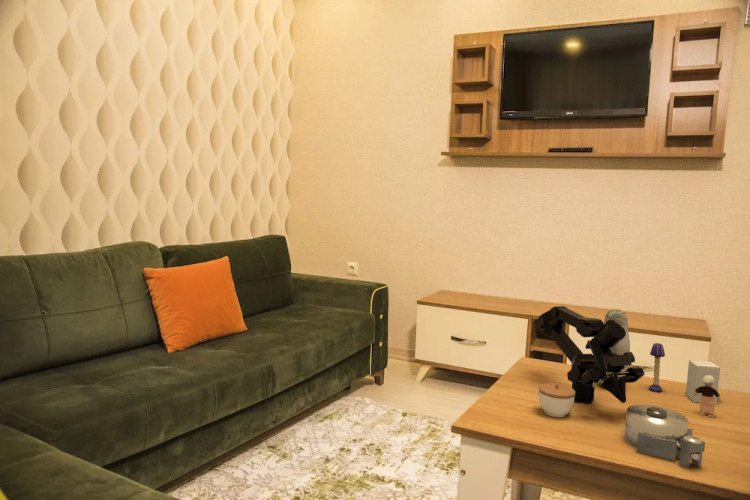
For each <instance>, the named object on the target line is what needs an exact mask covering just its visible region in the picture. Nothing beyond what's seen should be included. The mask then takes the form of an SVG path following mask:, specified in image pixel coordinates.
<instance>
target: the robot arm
mask: <svg viewBox="0 0 750 500" xmlns="http://www.w3.org/2000/svg"><path fill="white" fill-rule="evenodd" d="M565 323H566V324H568V325H569V326H571V327H573V328H574V329H575V330H576V333H578V334H579V336H581V337H583V338H591V339H590V340H589V339H588V340H587V341H586V344H585V346H584V347H585V349H586V350H590V352H591V353H584V352H583V351H582V350H581V349H580V348H579V347H578V346H577V344H576V343H575V342H574V341H573V340H572V338H571V337H570V336H569V335H568V334H567V333H566V331H565V330H564V324H565ZM535 325H536V327H537V329H538V331H539V332H541V334H543V335H545V336H548V337H549V338H551V339H552V340H553V341H554V343H555V344H556V345H557V346H558V348H559V349H560V350H561V351H562V353H563V354H564V355H565V357H567V359H568V360H569V362H570V363H571V365H570V370H568V372H567V373H566V375H567V380H568V381H570V382H571V384H572V385H571V388H572V389H574V390H575V397H574V402H578V403H584V404H589V405H591V404H592V402H593V401H594V399H595V389H596V387H595V386H594V384H599V383H600V381H599V379H601V381H602V384H601V383H600V385H599V386H600V387H602V388H604V389H605V390H606V391H608V392H609V393H610V394H611V395H612V396H614V397H615V398H616V399H617V400H619V402H620V403H622V404H625V403H627V393H626V392H627V391H626V387H627V386H626V384H631V383H632V384H633V383H636V382H637V381H638V380H640V379H641V378H642V377H644V376H645V375H646V373H645V372H644V369H643V368H642V367H640V366H633V365H632V364H633V363H635V362H636V358H635V355H634V353H633V352H632V351H630V352H626V353H624V355H617V354H616V353H613V352H612V350H611V348H612V347H614V346H616V345H617V344H618V343H619V342H620V341H621V340H622V339H623V338H624V337H625V335H626V332H625V329H624V328H623V327H622V326H621V325H619V324H617V323H615V321H614V320H608V321H607V322H606V324H604V321H603V320H602V319H600V318H595V317H587V316H584V315H582V314H580V313H578V312H576V311H574V310H571V309H569V308H568V307H567V306H565V305H560V306H557V305H556V306H552V307H551V308H550V309H549V310H547V311H545V312H543V313H541V314H540V315H539V316H538V318H537V319H536V321H535ZM626 365H628V369H627V370H626V371H625V372H621V370H623V369H624V368H625V367H624V366H626Z"/></svg>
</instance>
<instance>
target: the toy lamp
mask: <svg viewBox="0 0 750 500" xmlns="http://www.w3.org/2000/svg"><path fill="white" fill-rule="evenodd" d="M649 354H650V356H653V357H654V361H653V362H654V365H653V367H654V368H653V382H652V383H653V384H651V385H650V386H649V388H648V390H649V391H651V392H655V393H662V392H663V388H662V386H661V385H660V383H659V382H660V368H661V365H660V364H661V361H660V360H661V358H664V357H665V356H666V354H665V349H664V345H663V344H662V343H657V342H656V343H655V342H654V343H653V344H652V346H651V350H650V353H649Z"/></svg>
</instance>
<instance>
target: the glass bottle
mask: <svg viewBox="0 0 750 500" xmlns="http://www.w3.org/2000/svg"><path fill="white" fill-rule="evenodd" d="M608 320H614V321H615V323H617V324H619V325H621V326H622V327H623V328H624V329H625V332H626V335H625V337H624V338H623V339H622V340H621V341H620V342H619V343H618V344H617V345H616V346H614V347H612V348H611V350H612V352H613V353H616V354H617V355H624V353H626V352H631V341H630V334H629V318H628V315H627V313H626V312H624V311H623V310H621V309H610V310H608V311H607V312H606V314H605V317H604V321H603V323H604V324H606V322H607V321H608ZM624 367H625V368H624V369H623V370H621V372H625V371H626V370H627V369H628V368H629V365H626V366H624ZM599 383H600V385H601V384H602V381H601V379H599Z"/></svg>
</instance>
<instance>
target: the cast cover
mask: <svg viewBox="0 0 750 500" xmlns="http://www.w3.org/2000/svg"><path fill="white" fill-rule="evenodd" d="M625 413H626V414H625V423H624V424H625V425H624V437H623V438H624V440H625V441H626V443H628V444H629V445H630V446H632V447H634V448H636V449H637V441H638V433H644V434H648V435H652V436H657V437H661V438H666V439H670V440H674V441H679V442H680V438H684V436H686V435H687V428H688V426H689V420H688V418H687V417H686V416H685V415H683V414H681V413H679V412H677V411H675V410H672V409H669V408H665V407H662V406H657V405H650V404H634V405H629V406H628V407H627V408H626V412H625ZM688 429H689V428H688ZM680 454H681V451H679V450H676V456H678V455H680Z"/></svg>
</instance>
